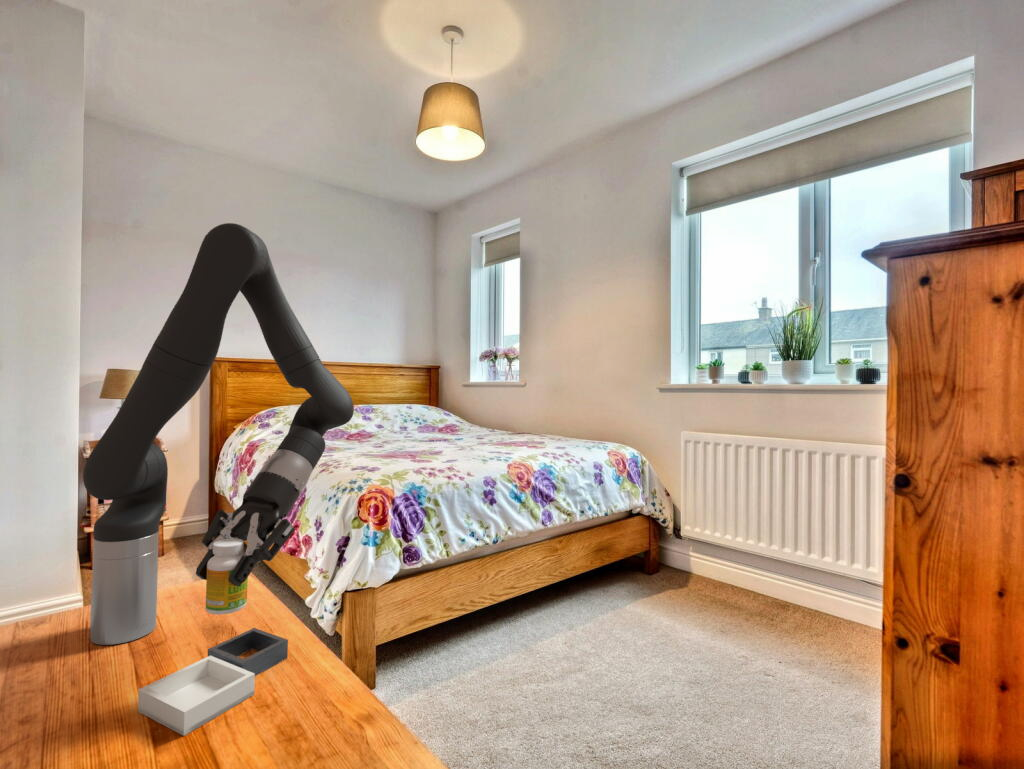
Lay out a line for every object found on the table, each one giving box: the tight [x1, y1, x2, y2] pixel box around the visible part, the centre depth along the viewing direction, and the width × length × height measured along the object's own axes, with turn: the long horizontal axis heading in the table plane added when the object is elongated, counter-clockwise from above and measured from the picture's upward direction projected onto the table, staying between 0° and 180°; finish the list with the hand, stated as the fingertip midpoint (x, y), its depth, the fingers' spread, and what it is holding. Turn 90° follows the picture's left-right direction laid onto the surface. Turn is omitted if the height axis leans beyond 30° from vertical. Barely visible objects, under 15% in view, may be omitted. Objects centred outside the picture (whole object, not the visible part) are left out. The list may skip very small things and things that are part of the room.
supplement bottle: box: [205, 537, 249, 615], centre depth 77 cm, size 5×5×10 cm
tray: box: [137, 655, 256, 737], centre depth 72 cm, size 10×10×3 cm
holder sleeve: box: [207, 627, 289, 677], centre depth 82 cm, size 8×8×3 cm
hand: (217, 580), depth 75 cm, fingers closed on supplement bottle, 5 cm apart
